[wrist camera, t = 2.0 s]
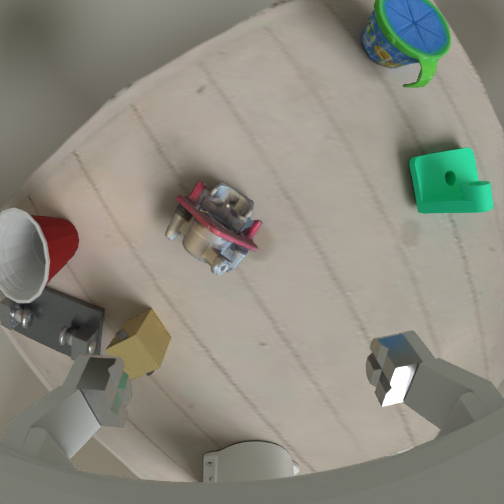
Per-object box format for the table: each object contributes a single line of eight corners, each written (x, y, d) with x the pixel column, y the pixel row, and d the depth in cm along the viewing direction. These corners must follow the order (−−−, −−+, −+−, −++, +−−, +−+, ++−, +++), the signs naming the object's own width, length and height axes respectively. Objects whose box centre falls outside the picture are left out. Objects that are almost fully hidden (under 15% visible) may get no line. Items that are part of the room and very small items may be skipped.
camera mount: (462, 147, 38) (506, 145, 28) (470, 195, 40) (514, 201, 30) (403, 158, 38) (447, 155, 28) (414, 211, 40) (457, 221, 30)
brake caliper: (287, 200, 37) (259, 269, 29) (246, 246, 44) (216, 311, 36) (210, 149, 35) (160, 205, 27) (181, 205, 42) (138, 262, 35)
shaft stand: (99, 363, 43) (87, 381, 38) (16, 326, 41) (0, 339, 36) (104, 309, 41) (90, 324, 36) (16, 273, 39) (-3, 283, 34)
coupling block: (174, 341, 42) (163, 372, 35) (147, 353, 43) (132, 384, 35) (149, 303, 41) (131, 329, 33) (122, 317, 41) (101, 344, 34)
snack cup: (422, 98, 36) (464, 84, 26) (359, 93, 36) (394, 71, 26) (401, 10, 33) (433, -17, 23) (340, 1, 33) (364, -35, 23)
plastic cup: (63, 183, 37) (10, 187, 25) (108, 241, 39) (64, 265, 27) (23, 233, 38) (-28, 251, 26) (64, 288, 40) (20, 321, 28)
